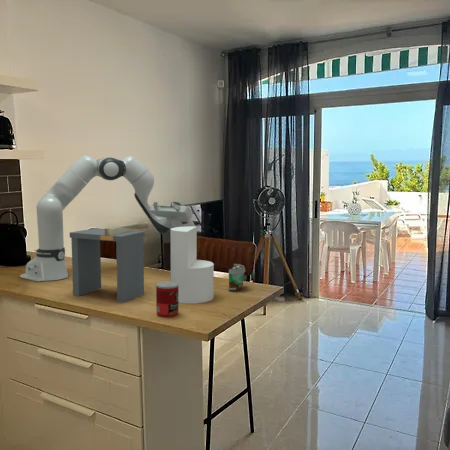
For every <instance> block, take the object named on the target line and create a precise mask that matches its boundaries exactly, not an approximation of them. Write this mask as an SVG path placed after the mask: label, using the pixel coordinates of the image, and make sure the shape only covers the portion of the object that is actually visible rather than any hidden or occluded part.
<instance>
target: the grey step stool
mask: <svg viewBox="0 0 450 450" xmlns="http://www.w3.org/2000/svg"><path fill="white" fill-rule="evenodd" d="M105 229H106V228H100V227H99V228H97V227H96V228H95V227H94V228H89V229H84V230H76V231H71V232H70V231H69V238H71V265H72V266H71V267H72V295H73V296H76V297H80V296H83V295H86V294H88V293H92V292H94V291H97V290H101V289H102V269H101V268H102V266H101V264H102V263H101V262H102V261H101V259H102V258H101V257H102V256H101V241H105V242H106V241H109V242H116V243H115V244H116V288H117V289H116V290H117V291H116V294H117V298H116V299H117V302H118V303H123V304H124V303H127V302H130V301H131V300H133V299H135V298H138V297H140V296H142V295H143V296H144V295H145V269H144V268H145V265H144V263H145V259H144V258H145V255H144V254H145V253H144V251H145V250H144V247H145V246H144V237H145V236H146V233H145V231H142V230H137V231H132V232H127V233H122V234H117V235H111V236H110V235H105Z"/></svg>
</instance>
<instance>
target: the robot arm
mask: <svg viewBox="0 0 450 450" xmlns="http://www.w3.org/2000/svg"><path fill="white" fill-rule="evenodd" d="M59 177H60V178H58V180H57V181H55V183H54V184H53V185H52V186H51V187H50V188H49V189H48V191H46V193H45V194H43V196H42V197H41V198H40V199H39V200H38V201H37V205H36V219H37V220H36V221H37V222H36V223H37V237H38V248H37V249H34V250H33V251H34V253H36V254H35V256H34V257H33V259H31V260H30V261H29V262H27V263H26V265H25V273H22V274H20V276H19V277H20V278H22V279H25V280H30V281H33V282H46V281H47V282H48V281H58V280H63V279H67V278H69V273H68V269H67V263H66V258H65V256H66V248H65V247H64V245H65V243H64V242H65V241H64V220H63V219H64V218H63V216H64V215H63V211H64V210H65V209H66V208H67V207H68V205H70V204H71V202H73V201H74V199H75V198H77V196H78V195H79V194H80V193H81V192H82V191H83V189H84V188H85V187H86V186H87V185H88V184H90V181H92V179H94V178H95V177H100V178H102V179H103V180H105V181H115V180H117V179H119V178H121V177H123V178H125V179H126V180H127V181H128V182H129V184H131V185H132V188H133V190H134V194H133V195H134V198H135V200H136V201H137V204H138V205H139V206H140V208H141V209H142V211H143V212H144V214H145V216H146V217H147V218H148V219H149V221H150V223H151V225H152V227H153V229H154V230H155V231H156V233H158V234H161V235H165V234H168V233H169V232H170V231H171V228H175V227H188V226H196V225H195V223H194V221H193V220H192V217H193V214H194V213H193V210H192V209H191V208H190V207H189V206H186V205H182V204H181V203H180V202H179V201H172V202H170V203H169V204H159V203H158V202H157V201H154V202H153V203H152V204H151V205H149V202H148V198H149V197H150V195H151V192H152V190H153V188H154V186H155V177H154V175H153V174H152V172H151V171H150V170H149V168H147V166H145V165H144V164H143V163H142V162H141V161H139V159H137V158H136V157H134V156H132V155H128V156H125V157H124V158H122V159H121V160H120V159H118V158H114V157H112V156H106V157H102V158H100V159H94V157H92V156H90V155H82V156H81V157H79V158H78V159H77V160H76V161H75V162H73V163H72V164H71V165H70V167H68V169H66V171H65V172H64V173H63V174H62V175H61V176H59Z"/></svg>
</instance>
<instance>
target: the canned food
mask: <svg viewBox="0 0 450 450" xmlns="http://www.w3.org/2000/svg"><path fill="white" fill-rule="evenodd" d="M155 290H156V291H155V292H156V293H155V294H156V295H155V296H156V297H155V299H156V300H155V301H156V303H155V304H156V308H155V309H156V315H157V316H158V317H160V318H161V317H162V318H174V317H176V316H178V315H179V302H178V283H176V282H171V281H160V282H157V283H156V286H155Z"/></svg>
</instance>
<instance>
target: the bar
mask: <svg viewBox="0 0 450 450" xmlns="http://www.w3.org/2000/svg"><path fill="white" fill-rule="evenodd" d="M104 229H105V235H110V236H111V235H117V234H122V233H127V232H132V231H142V230H145V229H146V230H147V229H149V222H146V221H143V222H136V223H135V222H134V223H128V224H126V225H125V224H123V225H118V226H112V227H107V228H104Z"/></svg>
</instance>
